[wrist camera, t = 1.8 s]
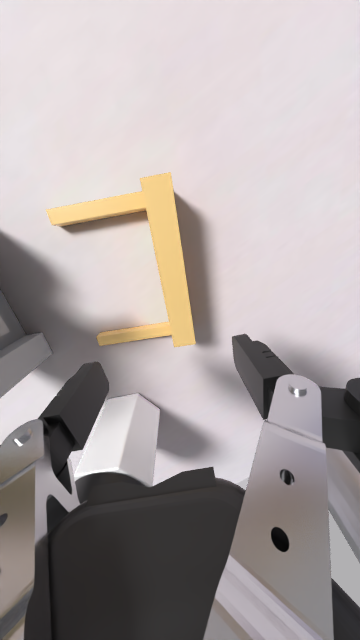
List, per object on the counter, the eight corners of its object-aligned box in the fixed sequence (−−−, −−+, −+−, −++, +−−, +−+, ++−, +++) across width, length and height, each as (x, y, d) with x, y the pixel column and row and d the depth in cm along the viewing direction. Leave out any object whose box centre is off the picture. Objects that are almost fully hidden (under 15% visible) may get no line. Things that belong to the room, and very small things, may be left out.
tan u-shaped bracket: (171, 189, 16) (170, 172, 12) (192, 327, 21) (195, 344, 17) (54, 212, 16) (18, 201, 13) (103, 340, 22) (88, 360, 18)
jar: (151, 437, 29) (135, 555, 18) (101, 428, 28) (51, 547, 17) (165, 398, 26) (157, 513, 14) (109, 386, 24) (55, 501, 13)
